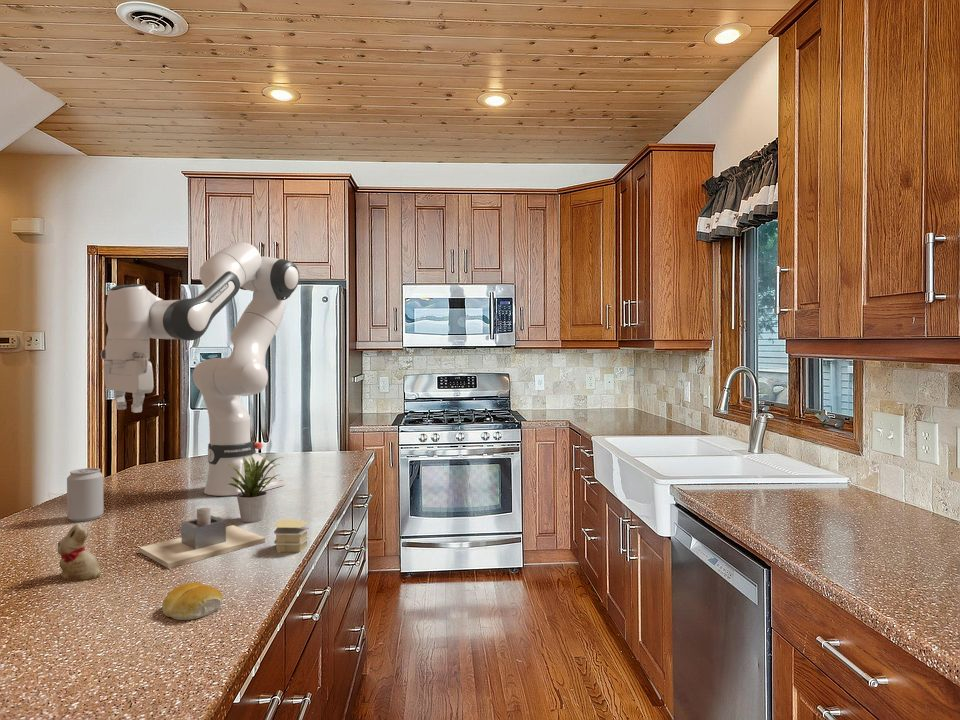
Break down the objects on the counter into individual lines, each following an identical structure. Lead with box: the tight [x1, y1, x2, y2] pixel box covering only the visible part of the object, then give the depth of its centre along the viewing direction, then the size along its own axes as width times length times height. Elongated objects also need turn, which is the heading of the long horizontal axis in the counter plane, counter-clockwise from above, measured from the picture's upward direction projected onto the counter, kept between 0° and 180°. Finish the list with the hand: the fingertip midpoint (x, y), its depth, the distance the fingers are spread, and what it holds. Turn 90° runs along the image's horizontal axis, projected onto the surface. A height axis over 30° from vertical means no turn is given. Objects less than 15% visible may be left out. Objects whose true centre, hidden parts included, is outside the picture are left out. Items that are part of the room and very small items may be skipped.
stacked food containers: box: [273, 518, 310, 553], centre depth 125 cm, size 10×9×6 cm
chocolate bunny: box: [57, 523, 102, 582], centre depth 109 cm, size 6×8×10 cm
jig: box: [139, 507, 266, 569], centre depth 125 cm, size 20×14×8 cm
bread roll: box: [161, 581, 224, 621], centre depth 95 cm, size 8×9×4 cm
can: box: [66, 467, 105, 523], centre depth 145 cm, size 8×8×12 cm
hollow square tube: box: [180, 515, 227, 550], centre depth 125 cm, size 6×6×4 cm
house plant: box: [222, 453, 284, 523], centre depth 145 cm, size 14×14×16 cm
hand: (128, 410), depth 140 cm, fingers open, 8 cm apart
